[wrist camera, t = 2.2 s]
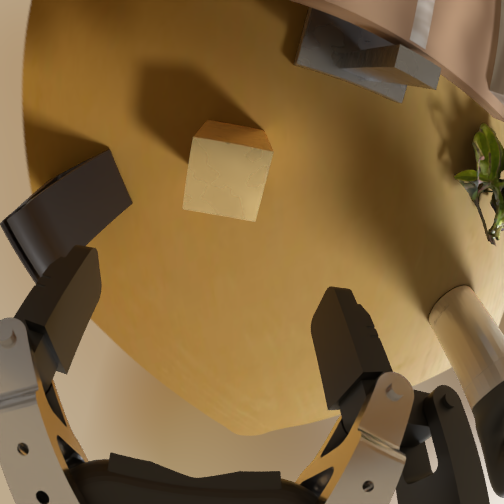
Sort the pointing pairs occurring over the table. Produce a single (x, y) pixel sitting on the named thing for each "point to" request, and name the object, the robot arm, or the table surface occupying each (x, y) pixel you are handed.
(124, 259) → the table surface
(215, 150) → the beige rectangular block
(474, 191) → the passion flower
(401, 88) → the pivot stand
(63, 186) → the phone stand
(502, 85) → the beam
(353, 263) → the table surface
